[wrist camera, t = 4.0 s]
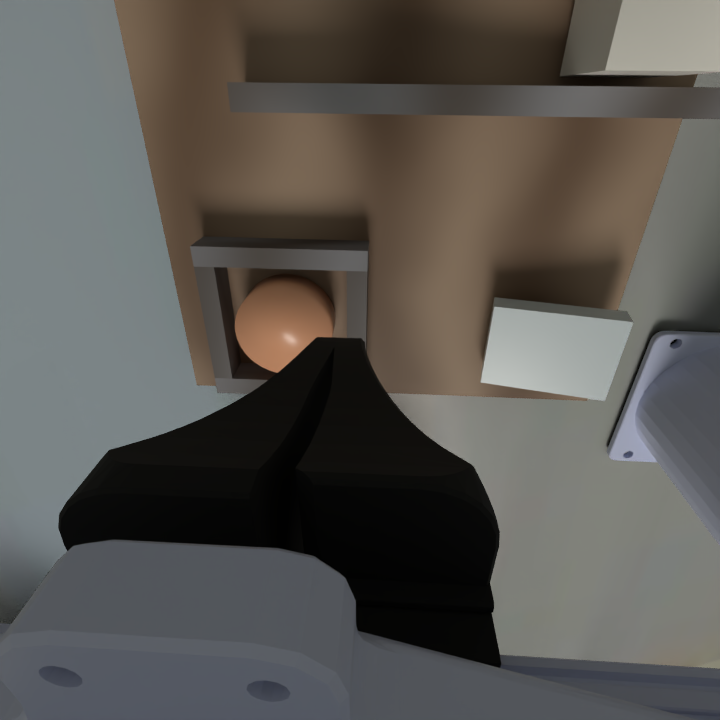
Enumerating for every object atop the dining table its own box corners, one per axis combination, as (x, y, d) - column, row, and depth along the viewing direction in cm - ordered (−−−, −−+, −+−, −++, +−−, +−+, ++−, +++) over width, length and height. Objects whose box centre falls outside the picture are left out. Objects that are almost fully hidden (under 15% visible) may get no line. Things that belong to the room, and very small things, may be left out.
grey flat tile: (626, 311, 17) (633, 322, 16) (599, 387, 19) (605, 400, 18) (494, 297, 18) (494, 306, 17) (481, 370, 20) (480, 382, 19)
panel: (752, -211, 12) (890, -327, 9) (571, 377, 23) (604, 427, 19) (103, -200, 13) (4, -304, 10) (211, 364, 24) (180, 409, 20)
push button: (334, 275, 18) (330, 288, 17) (336, 358, 20) (332, 375, 19) (239, 272, 18) (228, 285, 17) (250, 355, 20) (241, 372, 19)
